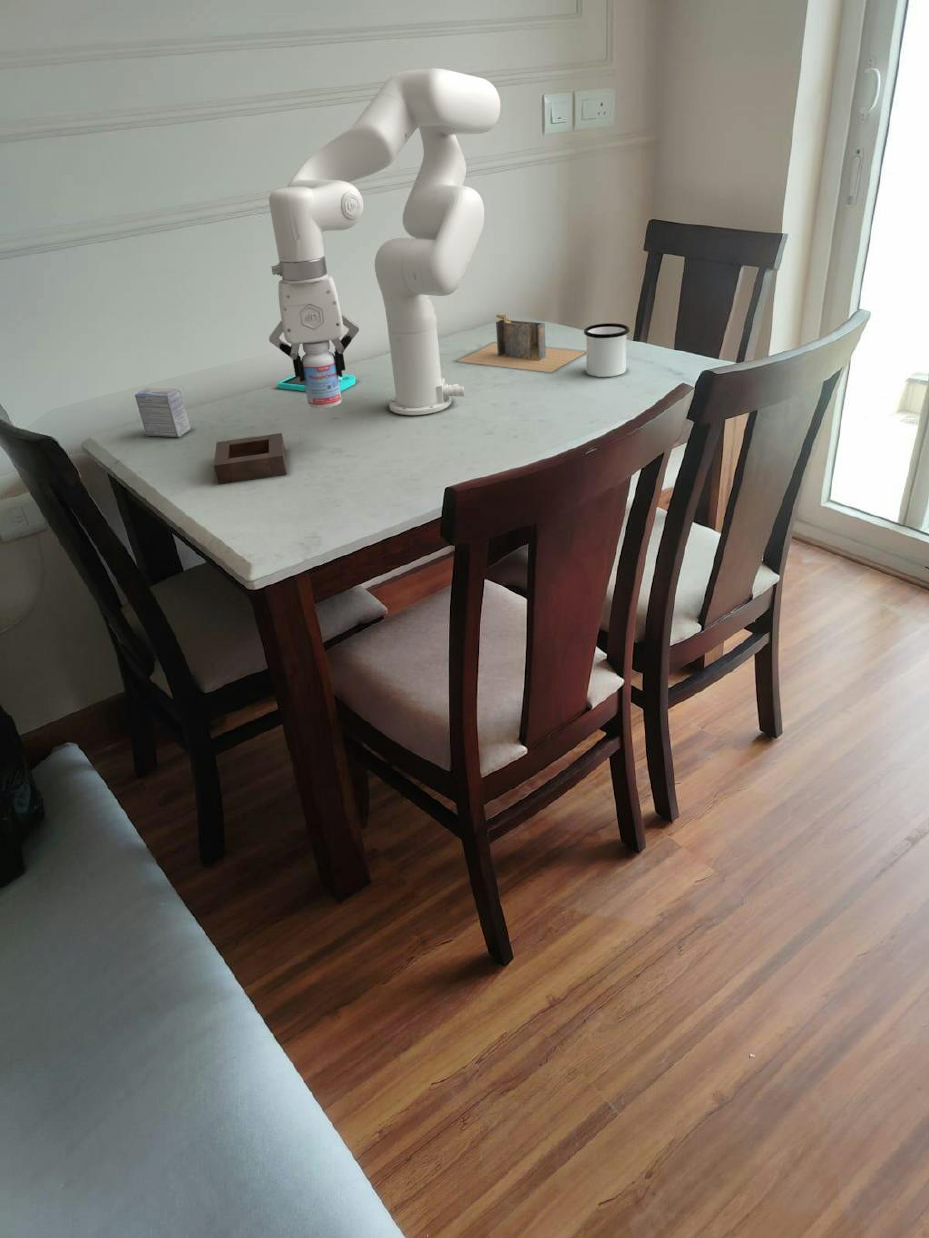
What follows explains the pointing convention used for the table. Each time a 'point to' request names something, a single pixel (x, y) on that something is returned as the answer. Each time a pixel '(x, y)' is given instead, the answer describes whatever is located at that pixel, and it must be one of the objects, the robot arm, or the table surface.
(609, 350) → the mug
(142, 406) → the medicine box
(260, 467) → the holder
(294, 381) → the handheld game console
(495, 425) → the table surface
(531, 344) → the architectural model on board
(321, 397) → the pill bottle
